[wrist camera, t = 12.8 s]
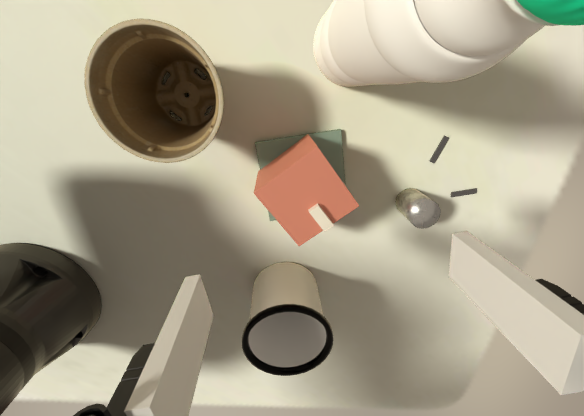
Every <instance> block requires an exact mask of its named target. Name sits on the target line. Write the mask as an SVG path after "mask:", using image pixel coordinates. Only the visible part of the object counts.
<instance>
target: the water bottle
mask: <svg viewBox="0 0 584 416" xmlns="http://www.w3.org/2000/svg"><path fill="white" fill-rule="evenodd" d="M545 25H546V26H555V25H584V0H334V1H333V2H332V4H331V5H330V7H329V9H328V10H327V12H326V13H325V14H324V15H323V17H322V19H321V20H320V22H319V24H318V26H317V29H316V32H315V36H314V44H313V49H314V56H315V60H316V63H317V66H318V68H319V69H320V71H321V72H322V74H323V75H324V76H325V77H326V78H327V79H328V80H330V81H331V82H333V83H335V84H337V85H341V86H347V87H352V86H366V85H373V84H378V85H393V84H406V83H414V82H420V81H423V82H430V83H446V82H453V81H458V80H462V79H466V78H469V77H472V76H474V75H477V74H479V73H481V72H483V71H485V70H487V69H489V68H491V67H492V66H494V65H496V64H497V63H499V62H500V61H502V60H503V59H504V58H506V57H507V56H508V55H510V54H511V53H512V52H513V51H514V50H516V49H517V48H518V47H519V46H520V45H521V44H522V43H523V42H524V41H525V40H527V39H528V38H529V37H531V36H532V35H533V34H535V33H536V32H538V31H539V30H540V29H542V28H543V27H544V26H545Z"/></svg>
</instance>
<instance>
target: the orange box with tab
mask: <svg viewBox="0 0 584 416" xmlns="http://www.w3.org/2000/svg"><path fill="white" fill-rule="evenodd" d="M254 194H255V195H256V196H257V198H258V199H259V200H260V201H261V202H262V203H263V205H264V206H265V207H266V208H267V209H268V210H269V212H270V213H271V214H272V215H273V216H274V217H275V219H276V220H277V221H278V222H279V223H280V224H281V226H282V227H283V228H284V229H285V230H286V232H287V233H288V234H289V235H290V236H291V237H292V239H293V240H294V241H295V242H296V243H297V244H298V246H301V245H302V244H304V243H305V242H306V241H308V240H309V239H311V238H312V237H314V236H315V235H317V234H318V233H320V232H321V231H324V232H325V231H327V230H328V229H330V228H331V227H333V226H334V225H333V223H335V222H336V221H338V220H339V219H341V218H342V217H344V216H345V215H347V214H348V213H350V212H351V211H353V210H354V209H356V208H357V207H359V205H358V203H357V202H356V201H355V199H354V198H353V196H352V195H351V193H350V192H349V191H348V189H347V188H346V186H345V185H344V183H343V182H342V181H341V179H340V178H339V176H338V175H337V173H336V172H335V171H334V169H333V168H332V166H331V165H330V164H329V162H328V161H327V159H326V158H325V156H324V155H323V154H322V152H321V151H320V149H319V148H318V146H317V145H316V144H315V142H314V141H313V140H312V138H311V137H310V136H309V134H307V135H306V136H304V137H303V138H302V139H301V140H299V141H298V142H297V143H295V144H294V145H293V146H291V147H290V148H289V149H287V150H286V151H285V152H283V153H282V154H281V155H279V156H278V157H277V158H275V159H274V160H273V161H271V162H270V163H269V164H268V165H266V166H265V167H264V168H262V169H261V170H260V171H258V175H257V180H256V185H255V190H254Z"/></svg>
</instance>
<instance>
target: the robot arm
mask: <svg viewBox="0 0 584 416" xmlns="http://www.w3.org/2000/svg"><path fill="white" fill-rule="evenodd" d="M449 278H450V279H451V280H452V281H453V282H454V283H455V284H456V285H457V286H458V287H459V289H460V290H461V291H462V292H463V293H464V294H465V295H466V296H467V297H468V298H469V299H470V300H471V301H472V302H473V303H474V304H475V305H476V306H477V307H478V309H479V310H480V311H481V312H482V313H483V314H484V315H485V316H486V317H487V318H488V319H489V320H490V321H491V322H492V323H493V324H494V325H495V326H496V327H497V329H498V330H499V331H501V333H502V334H503V335H504V336H505V337H506V338H507V339H508V340H509V341H510V342H511V343H512V344H513V345H514V346H515V347H516V348H517V349H518V351H519V352H520V353H521V354H522V355H523V356H524V357H525V358H526V359H527V360H528V361H529V362H530V363H531V364H532V365H533V366H534V367H535V368H536V369H537V370H538V372H539V373H540V374H541V375H542V376H543V377H544V378H545V379H546V380H547V381H548V382H549V383H550V384H551V385H552V386H553V387H554V389H555V390H556V391H557V392H558V393H559V394H560V395H567V394H572V393H578V392H583V391H584V305H583V304H582V302H581V301H579V300H577V299H576V298H575V297H571V295H570V294H569V293H567V292H566V291H564V290H563V289H562V288H560V287H558V286H557V285H554V284H552V283H550V282H548V281H545V280H543V279H538V280H534V279H533V278H531V277H530V276H528V275H527V274H526V273H525V272H523V271H522V270H520V269H519V268H518V267H516V266H515V265H513V264H512V263H511V262H509V261H508V260H507V259H505V258H504V257H502V256H501V255H500V254H498V253H497V252H495V251H494V250H493V249H491V248H490V247H488V246H487V245H486V244H484V243H483V242H482V241H480V240H479V239H477V238H476V237H475V236H473V235H472V234H470V233H469V232H468V231H464V232H458V233H452V243H451V255H450V267H449ZM100 312H101V299H100V295H99V292H98V289H97V287H96V285H95V284H94V282H93V281H92V279H91V278H90V277H89V275H88V274H87V273H86V272H85V271H84V270H83V269H82V268H81V267H80V266H78V265H77V264H76V263H75V262H73V261H72V260H70V259H69V258H67V257H65V256H63V255H62V254H59V253H57V252H55V251H53V250H50V249H47V248H44V247H41V246H36V245H31V244H22V243H11V244H3V245H0V415H1V414H2V413H3V412H4V410H5V409H6V408H7V407H8V405H9V404H10V403H11V402H12V401H13V399H14V398H15V397H16V396H17V394H18V393H19V392H20V391H21V390H22V388H23V387H24V386H25V385H26V384H27V383H28V381H29V380H30V379H31V378H32V377H33V376H34V375H35V374H36V373H37V372H39V371H40V370H41V369H43V368H44V367H46V366H47V365H49V364H50V363H51V362H53V361H54V360H56V359H57V358H58V357H60V356H61V355H63V354H64V353H65V352H67V351H68V350H70V349H71V348H73V347H74V346H75V345H77V344H78V343H79V342H80V341H81V340H82V339H83V338H84V337H85V336H86V335H87V334H88V332H89V331H90V330H91V329H92V327H93V326H94V325H95V323H96V322H97V320H98V318H99V316H100ZM213 316H214V315H213V312H212V309H211V306H210V303H209V300H208V297H207V294H206V291H205V288H204V284H203V281H202V278H201V275H200V274H199V275H193V276H187V277H185V279H184V281H183V283H182V285H181V287H180V290H179V292H178V294H177V296H176V298H175V301H174V303H173V305H172V307H171V309H170V312H169V314H168V316H167V318H166V320H165V323H164V325H163V327H162V329H161V331H160V334H159V336H158V338H157V340H156V342H155V343H153V344H147V345H143V346H142V347H141V348H140V349H139V350H138V352H137V353H136V354H135V355H134V356H133V357H132V359H131V361H130V363H129V365H128V367H127V371H125V373H124V375H123V377H122V379H121V382H120V383H119V385H118V387H117V389H116V390H115V392H114V394H113V396H112V398H111V400H110V402H109V404H108V406H107V408H106V407H105V406H104V405H102V404H94V405H90V406H87V407H86V408H84V409H82V410H80V411H79V412H77V413H76V414H75V415H74V416H188V415H189V411H190V407H191V403H192V400H193V396H194V392H195V388H196V384H197V380H198V376H199V372H200V368H201V364H202V360H203V356H204V352H205V348H206V344H207V340H208V336H209V332H210V328H211V324H212V320H213Z"/></svg>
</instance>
